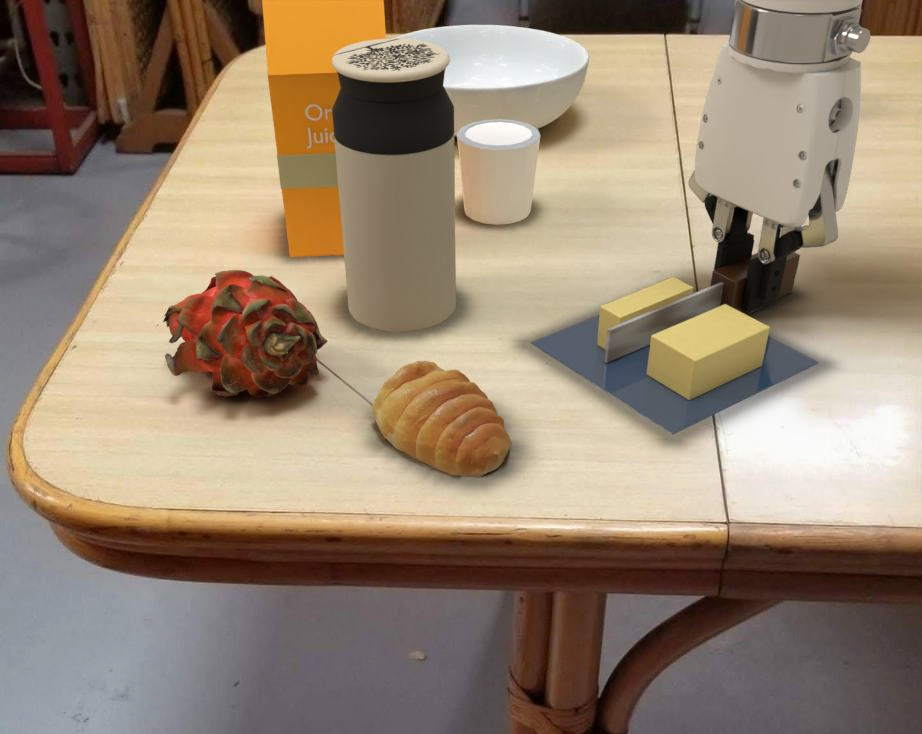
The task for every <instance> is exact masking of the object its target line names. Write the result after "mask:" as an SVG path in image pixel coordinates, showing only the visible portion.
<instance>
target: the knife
mask: <svg viewBox="0 0 922 734" xmlns="http://www.w3.org/2000/svg"><path fill="white" fill-rule="evenodd" d="M756 257H758V252H755V253H752V255H751V256H748V257H746V258H743V259H741V260H738V261H736V262H733V263H731V264H728V265H726V266H723V267H721V268H718V269H716V270H714V269H713V271H712V272H711V278H710V286H708V287H706V288H702V289H701V290H698V291H696V292H693V294H691V295H688V296H686V297H684V298H681V299H679V300H676V301H674V302H671V303H669V304H667V305H664V306H662V307H659V308H657V309H654V310H652V311H650V312H647V313H645V314H642V315H640V316H637V317H635V318H633V319H630V320H628V321H625V322H623V323H620V324H618V325H616V326H613V327H611V328H608V329H607V339H606V349H605V359H604V361H605V362H606V363H608V362H610V361H613V360H615V359H617V358H620V357H622V356H624V355H627V354H629V353H631V352H634V351H636V350H638V349H641V348H643V347H645V346H648V345H650V342H651V336H652V335H654V334H656V333H658V332H661V331H663V330H665V329H668V328H670V327H672V326H675V325H677V324H679V323H682V322H684V321H686V320H689V319H691V318H693V317H696V316H698V315H700V314H703V313H705V312H708V311H710V310H712V309H715V308H717V307H719V306H722V305H724V304H726V305H728V306H730V307H732V308H734V309H736V310H738V311H740V312H742V313H744V314H746V313H747V312H746V311H744V310H743V309H742V301H743V296H744V291H745V285H746V280H747V277H746V276H747V271H748V265H749V262H750V261H751V260H752V259H754V258H756ZM800 258H801V254H799V253H797V252H794V253H793V254H790V255H788V256H787V259H786V264H785V269H784V274H783V279H782V284H781V288H780V292H779V295H778V296H777V298H776V300H777V299H779V298H781V297H783V296H787V295H788V294H790V293H792V292H793V291H794V286H795V281H796V276H797V272H798V268H799V267H798V266H799V263H800Z"/></svg>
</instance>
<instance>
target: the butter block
mask: <svg viewBox="0 0 922 734" xmlns="http://www.w3.org/2000/svg"><path fill="white" fill-rule="evenodd" d="M770 330H771V328H770V326H769V325H767V324H765V323H763V322H761V321H759V320H757V319H755V318H753V317H751V316H749V315H747V314H746V313H742V312H740V311H738V310H736V309H734V308H732V307H730V306H728V305H726V304H724V305H722V306H719V307H717V308H715V309H712V310H710V311H708V312H705V313H703V314H700V315H698V316H696V317H693V318H691V319H689V320H686V321H684V322H682V323H679V324H677V325H675V326H672V327H670V328H668V329H665V330H663V331H661V332H658V333H656V334H654V335H652V336H651V342H650V350H649V358H648V366H647V375H648V376H650V377H652V378H653V379H655V380H657V381H658V382H660V383H662V384H663V385H665V386H666V387H668V388H670V389H671V390H673V391H675V392H676V393H678V394H680V395H681V396H683V397H684V398H686V399H688V400H691V399H693V398H695V397H697V396H700V395H702V394H704V393H706V392H708V391H710V390H712V389H714V388H716V387H719V386H721V385H723V384H725V383H727V382H729V381H731V380H733V379H735V378H737V377H740V376H742V375H744V374H746V373H748V372H750V371H752V370H754V369H756V368H759V367H761V366H762V363H763V358H764V354H765V349H766V344H767V339H768V336H769V333H770Z"/></svg>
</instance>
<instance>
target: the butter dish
mask: <svg viewBox="0 0 922 734" xmlns="http://www.w3.org/2000/svg"><path fill="white" fill-rule="evenodd" d="M599 316H600V313H599V314H597V315H594V316H591V317H589V318H587V319H585V320H582V321H580V322H576V323H574V324H572V325H569V326H567V327H565V328H562V329H559V330H557V331H554V332H552V333H549V334H547V335H545V336H542V337H539V338H537V339H534V340H532V341H530V342H529V344H531V345H532V346H534V347H536V348H537V349H539V350H540V351H542V352H544V353H545V354H546V355H548V356H550V357H551V358H553V359H554V360H556V361H557V362H559V363H560V364H562V365H564V366H565V367H567V368H568V369H569V370H571V371H572V372H575V373H576V374H577V375H579V376H581V377H582V378H584V379H585V380H587V381H588V382H590V383H591V384H593V385H594V386H596V387H597V388H599V389H601V390H602V391H604V392H605V393H607V394H609V395H610V396H611V397H613V398H615V399H617V400H618V401H619V402H621V403H623V404H624V405H625V406H627V407H629V408H630V409H631V410H633V411H635V412H637V413H638V414H639V415H641V416H643V417H644V418H646V419H647V420H649V421H650V422H652V423H654V424H655V425H657V426H658V427H659V428H661V429H663V430H664V431H666V432H667V433H669V434H671V435H672V436H673V435H675V434H677V433H679V432H681V431H683V430H685V429H687V428H689V427H691V426H693V425H696V424H698V423H700V422H702V421H704V420H706V419H708V418H710V417H712V416H714V415H716V414H718V413H720V412H722V411H724V410H726V409H728V408H730V407H732V406H735V405H736V404H739V403H741V402H743V401H744V400H747V399H749V398H750V397H751V398H752V397H753V396H755V395H757V394H759V393H761V392H763V391H765V390H767V389H770V388H771V387H773V386H775V385H777V384H779V383H782V382H783V381H786V380H787V379H790V378H792V377H794V376H796V375H798V374H800V373H802V372H803V371H806V370H808V369H811V368H812V367H814V366H816V365H818V364H820V362H819V361H817V360H816V359H814V358H812V357H810V356H808V355H807V354H804V353H802V352H800V351H799V350H797V349H795V348H794V347H791V346H789V345H788V344H785V343H783V342H782V341H780V340H778V339H776V338H774V337H773V336H770V335H768V339H767V344H766V349H765V354H764V358H763V363H762V366H761V367H759V368H756V369H754V370H752V371H750V372H748V373H746V374H744V375H742V376H740V377H737V378H735V379H733V380H731V381H729V382H727V383H725V384H723V385H721V386H719V387H716V388H714V389H712V390H710V391H708V392H706V393H704V394H702V395H700V396H697V397H695V398H693V399H691V400H688V399H686V398H684V397H683V396H681V395H680V394H678V393H676V392H675V391H673V390H671V389H670V388H668V387H666V386H665V385H663V384H662V383H660V382H658V381H657V380H655V379H653V378H652V377H650V376H648V375H647V366H648V358H649V350H650V345H648V346H645V347H643V348H641V349H638V350H636V351H634V352H631V353H629V354H627V355H624V356H622V357H620V358H617V359H615V360H613V361H610V362H608V363H606V362H605V361H604V359H605V349H603V348H602V347H600V346H598V345H597V339H598V328H599Z"/></svg>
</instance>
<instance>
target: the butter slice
mask: <svg viewBox="0 0 922 734" xmlns="http://www.w3.org/2000/svg"><path fill="white" fill-rule="evenodd" d="M693 293H694V286H692V285H690V284H687V282H684V281H682V280H680V279H678V278H677V277H674V276H672V277H669V278H667V279H665V280H662V281H660V282H657V283H655V284H652V285H650V286H647V287H644V288H642V289H640V290H637V291H635V292H633V293H629V294H628V295H627V294H626V295H625V296H622V297H620V298H618V299H615V300H613V301H610V302H607V303H605V304H602V305H600V306H599V314H600V316H599V328H598V339H597V345H598V346H600V347H602V348H603V349H606V339H607V329H608V328H611V327H613V326H616V325H618V324H620V323H623V322H625V321H628V320H630V319H633V318H635V317H637V316H640V315H642V314H645V313H647V312H650V311H652V310H654V309H657V308H659V307H662V306H664V305H667V304H669V303H671V302H674V301H676V300H679V299H681V298H684V297H686V296H688V295H691V294H693Z"/></svg>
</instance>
